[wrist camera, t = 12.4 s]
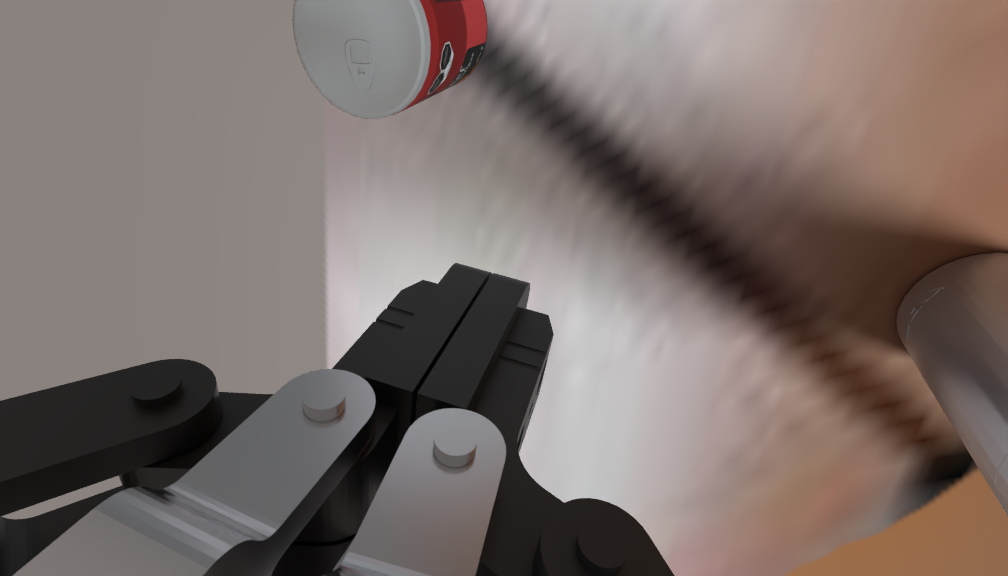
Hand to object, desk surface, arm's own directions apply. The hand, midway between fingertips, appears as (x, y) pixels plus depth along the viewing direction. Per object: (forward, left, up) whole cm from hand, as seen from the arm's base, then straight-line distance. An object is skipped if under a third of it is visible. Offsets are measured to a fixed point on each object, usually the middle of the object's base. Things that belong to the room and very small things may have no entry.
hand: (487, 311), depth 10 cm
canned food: (+13, -1, -29) cm, 32 cm away
